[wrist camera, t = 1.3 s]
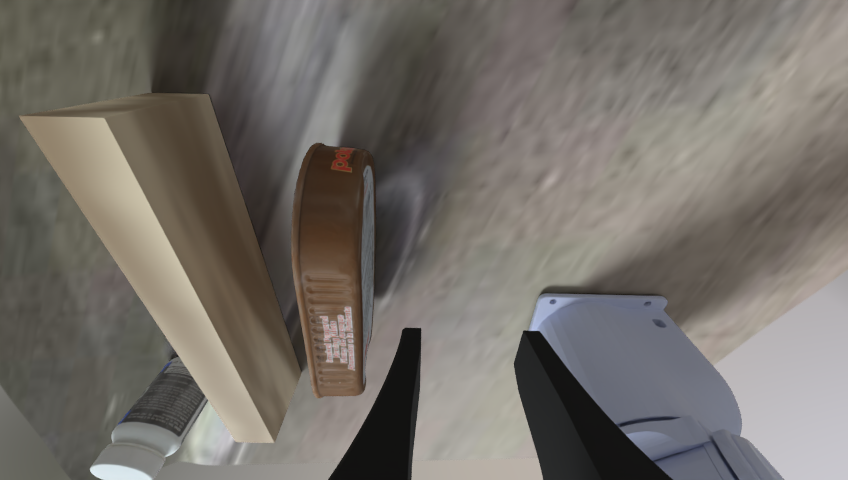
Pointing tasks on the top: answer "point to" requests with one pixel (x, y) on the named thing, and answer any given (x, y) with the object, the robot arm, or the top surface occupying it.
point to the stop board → (181, 243)
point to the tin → (335, 265)
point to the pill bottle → (152, 426)
